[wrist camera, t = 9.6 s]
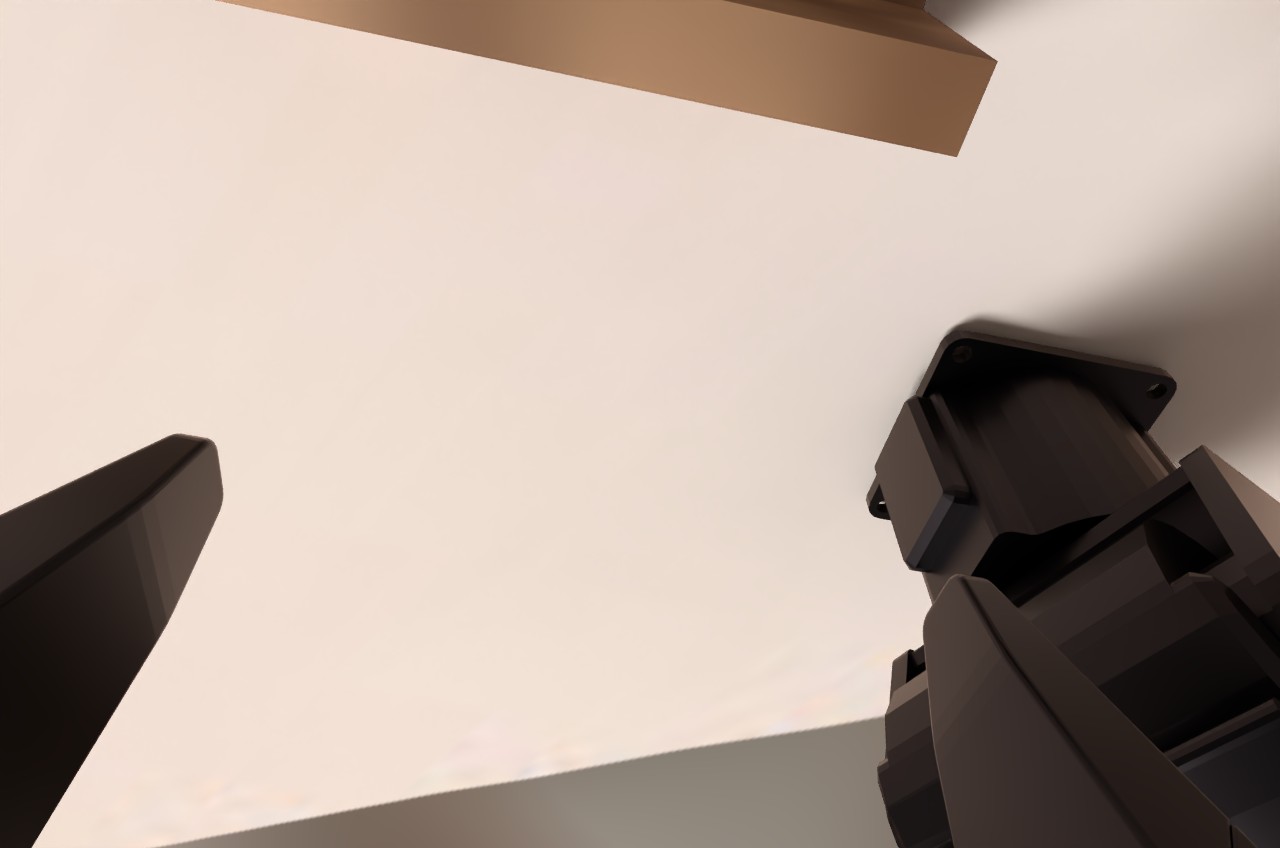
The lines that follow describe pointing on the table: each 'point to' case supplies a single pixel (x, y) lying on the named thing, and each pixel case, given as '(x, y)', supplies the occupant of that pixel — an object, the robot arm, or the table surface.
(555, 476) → the table surface
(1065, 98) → the table surface
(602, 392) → the table surface
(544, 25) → the cleat rack
